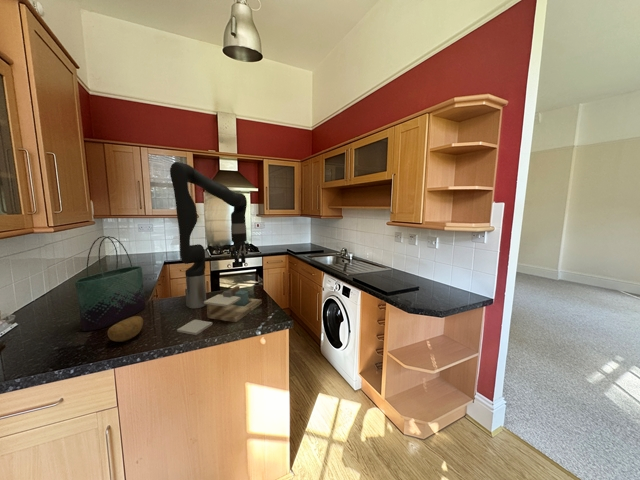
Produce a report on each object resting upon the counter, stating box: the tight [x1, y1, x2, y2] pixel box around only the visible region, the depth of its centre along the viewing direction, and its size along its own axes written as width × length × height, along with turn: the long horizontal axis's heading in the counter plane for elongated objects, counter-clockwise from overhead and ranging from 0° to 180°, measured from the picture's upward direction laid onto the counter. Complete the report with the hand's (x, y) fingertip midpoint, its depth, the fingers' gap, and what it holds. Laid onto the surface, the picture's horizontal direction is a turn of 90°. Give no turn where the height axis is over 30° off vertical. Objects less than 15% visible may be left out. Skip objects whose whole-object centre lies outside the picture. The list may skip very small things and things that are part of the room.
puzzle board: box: [206, 285, 263, 323], centre depth 131 cm, size 16×24×8 cm, turn 163°
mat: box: [176, 319, 213, 336], centre depth 113 cm, size 10×10×1 cm
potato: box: [107, 315, 144, 343], centre depth 104 cm, size 10×14×8 cm
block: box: [235, 289, 250, 306], centre depth 136 cm, size 5×5×8 cm
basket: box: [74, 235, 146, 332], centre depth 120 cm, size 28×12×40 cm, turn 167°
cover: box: [204, 290, 241, 307], centre depth 121 cm, size 13×10×3 cm
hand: (240, 264), depth 134 cm, fingers open, 5 cm apart
